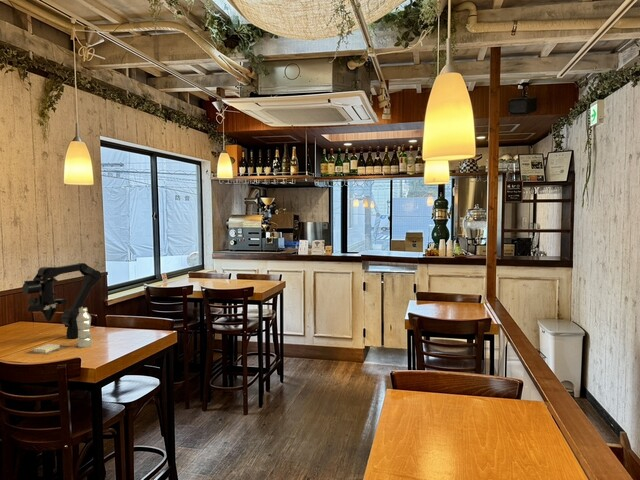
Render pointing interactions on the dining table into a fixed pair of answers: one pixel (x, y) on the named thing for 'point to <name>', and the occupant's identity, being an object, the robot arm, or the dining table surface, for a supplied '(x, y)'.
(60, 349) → the board
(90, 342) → the plastic bottle
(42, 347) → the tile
